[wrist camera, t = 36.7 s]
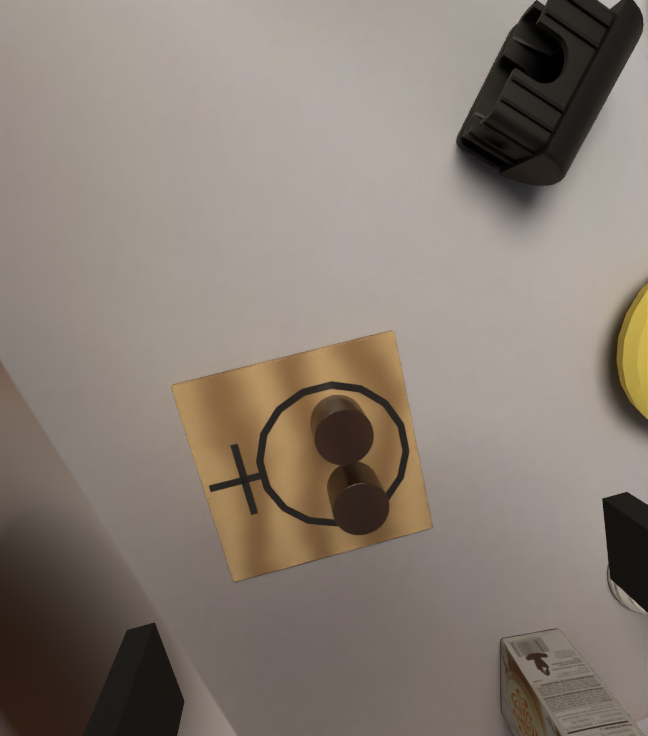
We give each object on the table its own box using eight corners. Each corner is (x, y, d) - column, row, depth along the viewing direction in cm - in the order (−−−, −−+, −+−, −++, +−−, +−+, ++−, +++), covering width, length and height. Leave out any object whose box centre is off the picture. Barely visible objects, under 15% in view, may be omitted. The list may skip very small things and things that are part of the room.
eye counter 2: (317, 451, 37) (322, 472, 33) (304, 401, 36) (308, 417, 32) (368, 438, 37) (379, 457, 33) (357, 388, 36) (367, 402, 32)
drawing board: (234, 576, 40) (233, 583, 39) (172, 384, 36) (170, 387, 35) (430, 523, 41) (433, 528, 40) (391, 330, 36) (394, 331, 36)
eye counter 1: (333, 514, 38) (339, 542, 35) (321, 468, 37) (326, 491, 34) (382, 501, 39) (394, 527, 35) (372, 455, 38) (383, 476, 34)
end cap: (525, 194, 35) (583, 177, 29) (450, 149, 34) (492, 120, 28) (592, 70, 34) (668, 21, 27) (516, 18, 33) (576, -47, 26)
